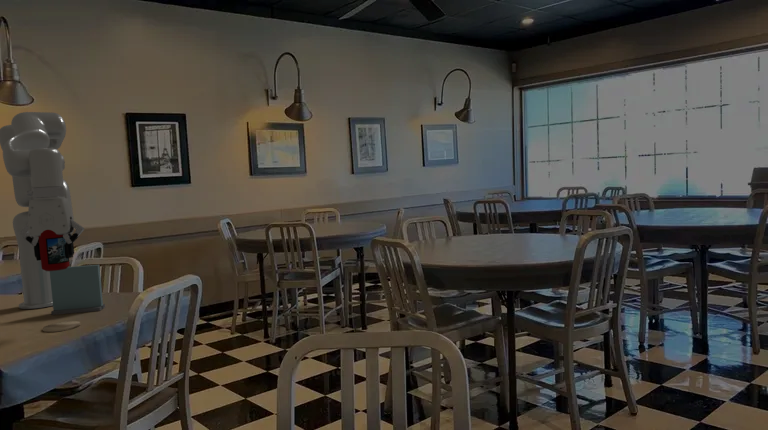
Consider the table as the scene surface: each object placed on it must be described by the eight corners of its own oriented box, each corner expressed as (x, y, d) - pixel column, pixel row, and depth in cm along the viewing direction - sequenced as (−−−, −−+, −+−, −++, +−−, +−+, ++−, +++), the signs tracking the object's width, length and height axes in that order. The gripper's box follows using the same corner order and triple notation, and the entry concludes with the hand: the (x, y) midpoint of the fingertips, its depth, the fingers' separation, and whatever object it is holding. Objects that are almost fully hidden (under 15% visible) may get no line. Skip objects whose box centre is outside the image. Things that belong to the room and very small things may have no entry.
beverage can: (57, 271, 151) (53, 227, 150) (35, 272, 153) (31, 228, 152) (75, 267, 158) (71, 224, 157) (55, 268, 159) (50, 225, 158)
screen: (58, 311, 178) (53, 267, 177) (105, 307, 180) (101, 263, 179) (51, 314, 173) (46, 269, 172) (99, 310, 175) (95, 266, 174)
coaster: (51, 324, 160) (51, 322, 160) (85, 321, 162) (84, 319, 162) (37, 333, 151) (36, 331, 151) (72, 330, 153) (72, 328, 153)
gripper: (7, 196, 149) (14, 263, 150) (77, 192, 151) (83, 258, 153) (20, 195, 156) (27, 259, 157) (87, 191, 159) (93, 254, 160)
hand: (55, 258), depth 155 cm, fingers closed on beverage can, 6 cm apart
